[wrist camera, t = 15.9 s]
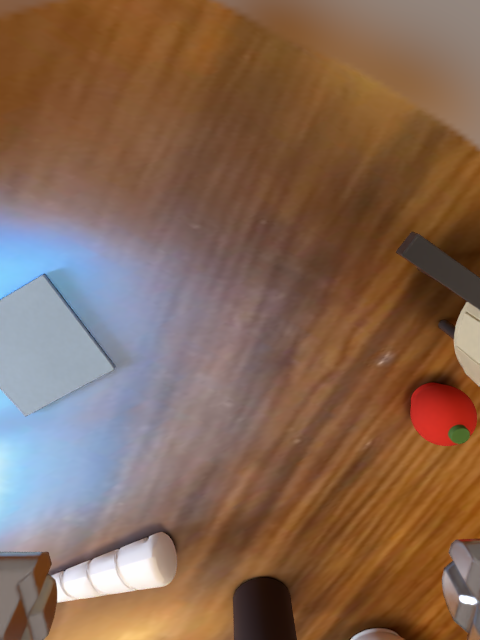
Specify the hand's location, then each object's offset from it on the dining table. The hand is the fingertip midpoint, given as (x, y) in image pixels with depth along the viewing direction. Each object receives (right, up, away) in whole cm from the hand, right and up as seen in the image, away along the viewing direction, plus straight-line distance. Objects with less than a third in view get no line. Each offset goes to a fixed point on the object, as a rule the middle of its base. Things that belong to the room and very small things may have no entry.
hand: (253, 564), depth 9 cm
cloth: (-18, +2, +28) cm, 34 cm away
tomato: (+18, -3, +32) cm, 36 cm away
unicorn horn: (-18, -23, +39) cm, 48 cm away
